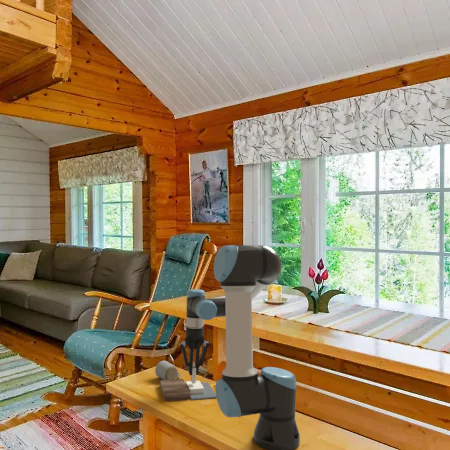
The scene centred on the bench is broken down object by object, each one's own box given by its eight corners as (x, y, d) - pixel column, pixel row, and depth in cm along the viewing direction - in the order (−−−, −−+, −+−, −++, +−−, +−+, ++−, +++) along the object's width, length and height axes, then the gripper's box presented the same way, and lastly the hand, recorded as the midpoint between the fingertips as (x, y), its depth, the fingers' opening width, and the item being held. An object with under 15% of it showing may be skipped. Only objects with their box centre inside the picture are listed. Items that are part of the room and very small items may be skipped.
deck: (189, 399, 178) (189, 393, 178) (164, 401, 176) (165, 395, 176) (182, 384, 194) (182, 378, 194) (159, 386, 191) (159, 380, 191)
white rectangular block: (204, 393, 183) (204, 388, 183) (189, 394, 182) (189, 389, 182) (199, 384, 192) (199, 380, 192) (185, 386, 190) (185, 381, 190)
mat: (216, 398, 180) (216, 396, 180) (191, 400, 177) (191, 398, 177) (207, 383, 196) (207, 382, 196) (184, 385, 193) (184, 383, 193)
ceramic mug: (165, 384, 193) (166, 366, 193) (154, 378, 199) (155, 361, 199) (184, 379, 201) (185, 362, 201) (173, 374, 207) (173, 357, 207)
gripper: (208, 323, 192) (206, 378, 192) (178, 324, 188) (176, 380, 189) (212, 328, 184) (210, 384, 185) (181, 329, 181) (179, 386, 181)
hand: (193, 382), depth 187 cm, fingers closed
